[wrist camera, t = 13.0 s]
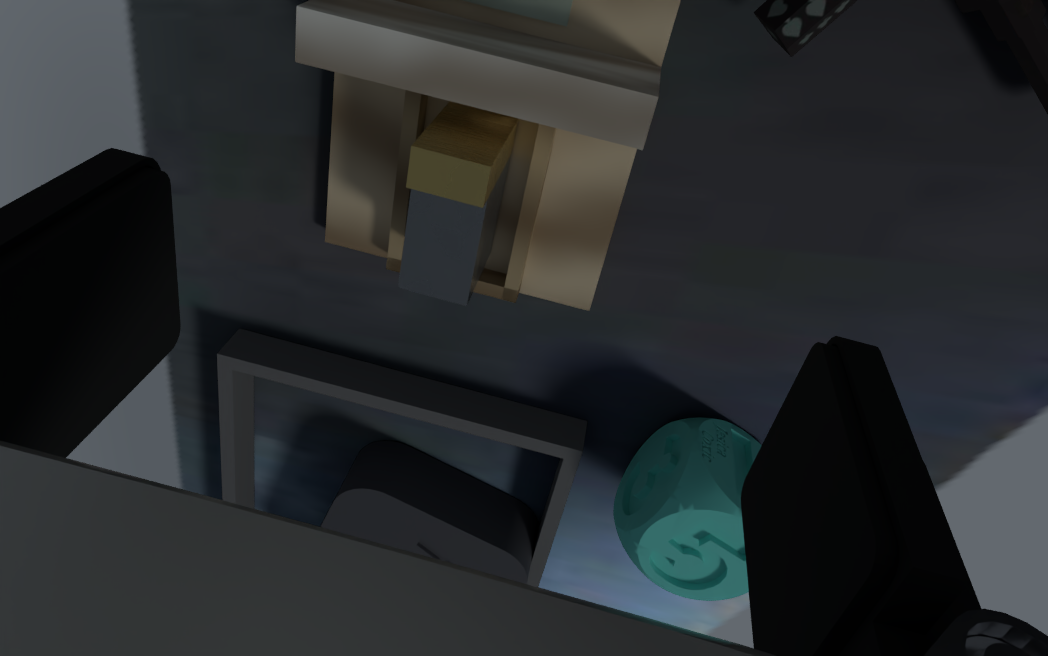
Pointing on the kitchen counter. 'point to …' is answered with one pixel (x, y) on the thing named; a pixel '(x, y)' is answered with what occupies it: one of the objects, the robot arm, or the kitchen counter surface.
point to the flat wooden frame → (502, 87)
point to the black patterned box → (1006, 3)
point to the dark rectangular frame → (390, 394)
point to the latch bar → (455, 200)
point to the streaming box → (433, 512)
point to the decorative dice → (688, 508)
